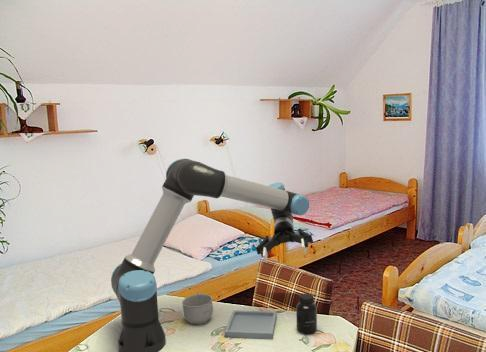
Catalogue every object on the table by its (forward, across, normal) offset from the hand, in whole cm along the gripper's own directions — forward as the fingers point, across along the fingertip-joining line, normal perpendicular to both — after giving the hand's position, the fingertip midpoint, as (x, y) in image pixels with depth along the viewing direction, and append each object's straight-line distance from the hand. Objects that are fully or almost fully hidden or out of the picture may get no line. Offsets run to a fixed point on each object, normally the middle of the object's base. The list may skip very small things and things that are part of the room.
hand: (284, 254), depth 148 cm
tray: (+4, +17, -22) cm, 28 cm away
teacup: (-3, +37, -19) cm, 42 cm away
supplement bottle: (+6, -1, -26) cm, 27 cm away
